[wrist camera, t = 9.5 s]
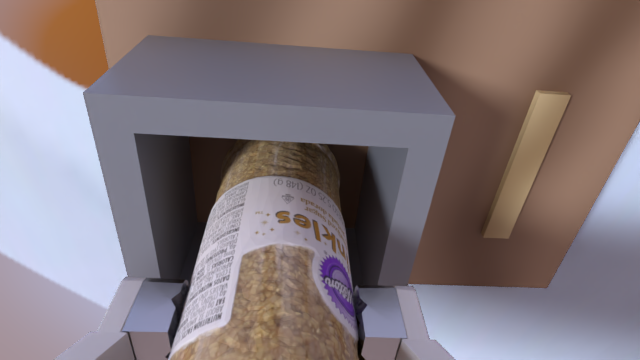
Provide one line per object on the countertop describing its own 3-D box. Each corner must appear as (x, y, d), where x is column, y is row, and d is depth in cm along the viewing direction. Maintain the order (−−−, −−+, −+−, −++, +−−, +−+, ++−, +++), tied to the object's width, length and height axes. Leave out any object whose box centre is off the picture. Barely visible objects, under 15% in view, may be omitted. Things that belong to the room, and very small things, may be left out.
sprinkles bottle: (363, 170, 16) (506, 762, 5) (285, 237, 18) (265, 789, 7) (272, 95, 14) (185, 768, 3) (195, 177, 16) (-35, 803, 5)
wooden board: (673, -9, 15) (714, 1, 14) (533, 266, 23) (549, 292, 22) (103, -59, 14) (79, -54, 12) (159, 254, 22) (148, 280, 20)
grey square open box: (412, 54, 15) (455, 115, 11) (373, 245, 20) (392, 338, 16) (147, 34, 14) (82, 93, 10) (176, 238, 19) (141, 333, 15)
